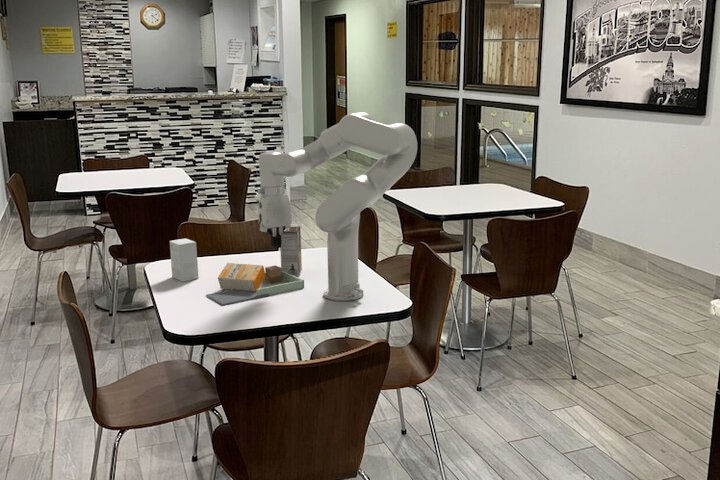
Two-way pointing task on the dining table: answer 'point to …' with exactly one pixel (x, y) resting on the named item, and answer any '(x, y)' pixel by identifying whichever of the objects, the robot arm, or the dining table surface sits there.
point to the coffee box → (291, 251)
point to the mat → (234, 296)
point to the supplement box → (241, 277)
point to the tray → (282, 285)
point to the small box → (184, 259)
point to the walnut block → (273, 274)
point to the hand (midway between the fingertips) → (276, 247)
